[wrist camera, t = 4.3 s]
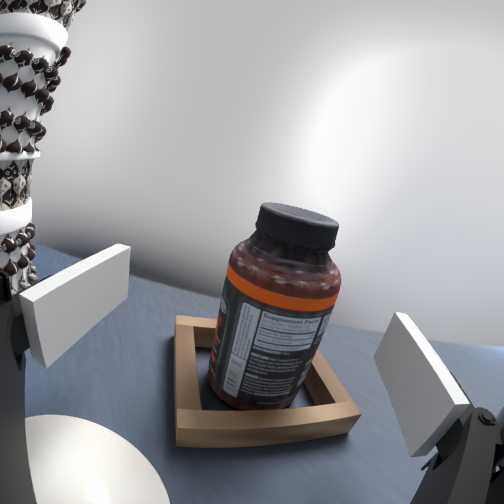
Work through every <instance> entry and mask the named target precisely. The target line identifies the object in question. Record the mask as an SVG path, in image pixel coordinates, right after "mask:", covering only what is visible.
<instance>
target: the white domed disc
mask: <svg viewBox="0 0 504 504" xmlns="http://www.w3.org/2000/svg"><path fill="white" fill-rule="evenodd" d="M25 429H26V442H27V451H28V459H29V466H30V472H31V478H32V483H33V488H34V493H35V497H36V502H37V504H170V502H169V498H168V495H167V492H166V489H165V487H164V485H163V483H162V481H161V478H160V477H159V475H158V474H157V472H156V470H155V469H154V467H153V466H152V465H151V464H150V462H149V461H148V460H147V459H146V458H145V457H144V456H143V455H142V454H141V452H140V451H139V450H137V449H136V448H135V447H134V446H133V445H132V444H130V443H129V442H128V441H126V440H125V439H124V438H122V437H121V436H119V435H118V434H116V433H114V432H112V431H111V430H109V429H107V428H105V427H103V426H100V425H98V424H95V423H93V422H90V421H87V420H83V419H80V418H76V417H71V416H63V415H39V416H33V417H28V418H25Z"/></svg>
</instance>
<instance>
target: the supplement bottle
mask: <svg viewBox="0 0 504 504" xmlns="http://www.w3.org/2000/svg"><path fill="white" fill-rule="evenodd" d="M255 225H256V229H257V230H256V231H255V232H254V233H253V234H252V235H251V236H250V238H249V239H247V240H244V241H242V242H240V243H239V244H238V245H237V246H236V247H235V248H234V250H233V251H232V253H231V255H230V259H229V263H228V269H227V275H226V278H225V282H224V287H223V293H222V298H221V303H220V309H219V314H218V320H217V325H216V330H215V334H214V341H213V346H212V351H211V356H210V361H209V372H208V377H209V382H210V385H211V387H212V389H213V392H214V393H215V394H216V395H217V396H218V397H219V398H220V399H221V400H223V401H224V402H225V403H227V404H228V405H230V406H231V407H234V408H236V409H239V410H241V411H253V410H275V409H283V408H285V407H286V406H288V405H289V404H290V403H291V402H292V401H293V400H294V398H295V396H296V395H297V393H298V391H299V389H300V387H301V385H302V383H303V381H304V379H305V376H306V374H307V372H308V369H309V367H310V365H311V363H312V360H313V358H314V356H315V354H316V351H317V348H318V346H319V344H320V341H321V339H322V336H323V334H324V331H325V328H326V326H327V323H328V321H329V318H330V315H331V313H332V310H333V307H334V304H335V301H336V299H337V296H338V293H339V290H340V285H341V274H340V271H339V269H338V267H337V266H336V265H335V263H334V262H333V261H332V260H331V258H330V256H329V254H328V251H329V250H331V249H332V248H334V246H335V240H336V236H337V232H338V228H339V224H338V222H336V221H335V220H333V219H331V218H329V217H327V216H324V215H322V214H319V213H316V212H313V211H309V210H306V209H302V208H298V207H294V206H289V205H284V204H279V203H263V204H262V205H261V207H260V211H259V215H258V219H257V222H256V224H255Z"/></svg>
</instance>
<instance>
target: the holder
mask: <svg viewBox="0 0 504 504" xmlns="http://www.w3.org/2000/svg"><path fill="white" fill-rule="evenodd" d="M217 320H218V319H208V318H198V317H189V316H180V315H176V322H175V331H174V409H175V432H176V447H196V448H231V447H252V446H266V445H276V444H285V443H293V442H300V441H307V440H313V439H319V438H324V437H330V436H334V435H339V434H344V433H348V432H349V431H350V430H351V429H352V427H353V426H354V424H355V423H356V422H357V420H358V419H359V417H360V416H361V412H360V411H359V409H358V408H357V406H356V405H355V403H354V402H353V400H352V399H351V397H350V396H349V394H348V393H347V391H346V390H345V388H344V387H343V386H342V384H341V383H340V381H339V380H338V378H337V377H336V375H335V374H334V372H333V371H332V369H331V368H330V366H329V365H328V363H327V362H326V360H325V359H324V357H323V356H322V354H321V353H320V351H319V350H318V348H317V351H316V354H315V356H314V358H313V360H312V363H311V365H310V367H309V369H308V372H307V374H306V376H305V379H304V381H303V382H304V384H305V386H306V388H307V390H308V391H309V393H310V395H311V397H312V399H313V401H314V403H315V404H316V406H311V407H301V408H290V409H275V410H253V411H211V410H201V402H200V393H199V384H198V375H197V365H196V355H195V347H207V348H212V346H213V341H214V334H215V330H216V325H217Z"/></svg>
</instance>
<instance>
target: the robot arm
mask: <svg viewBox="0 0 504 504" xmlns="http://www.w3.org/2000/svg"><path fill="white" fill-rule="evenodd" d="M130 248H131V247H129V246H125V245H122V244H116V245H114V246H111V247H109V248H107V249H105V250H103V251H101V252H99V253H97V254H95V255H93V256H90V257H88V258H86V259H84V260H82V261H80V262H78V263H76V264H74V265H72V266H70V267H68V268H66V269H65V270H63V271H61V272H59V273H57V274H54V275H50V276H47V277H45V278H43V279H42V280H40V281H38V282H36V283H34V285H30V286H29V287H27V288H25V289H23V290H21V291H19V292H18V293H16V294H14V295H12V293H11V286H10V278H9V274H8V273H7V272H5V271H1V270H0V504H37V502H36V497H35V493H34V488H33V483H32V478H31V472H30V466H29V459H28V451H27V442H26V429H25V404H24V391H25V365H26V357H25V353H24V351H26V350H27V349H28V348H29V347H30V350H31V354H32V358H33V360H34V361H36V362H37V363H39V364H40V365H42V366H43V367H45V368H46V369H47V368H48V367H49V366H50V365H51V364H52V363H53V362H55V361H56V360H57V359H58V358H59V357H60V356H61V355H62V354H63V353H64V352H65V351H67V350H68V349H69V348H70V347H71V346H72V345H73V344H74V343H75V342H77V341H78V340H79V339H80V338H81V337H82V336H83V335H84V334H86V333H87V332H88V331H89V330H90V329H91V328H92V327H93V326H95V325H96V324H97V323H98V322H99V321H100V320H101V319H103V318H104V317H105V316H106V315H107V314H108V313H110V312H111V311H112V310H113V309H114V308H115V307H117V306H118V305H119V304H120V303H121V302H123V301H124V300H125V299H126V298H127V297H128V278H129V262H130ZM373 358H374V360H375V362H376V365H377V367H378V370H379V372H380V375H381V377H382V380H383V382H384V385H385V387H386V390H387V392H388V395H389V397H390V400H391V403H392V405H393V408H394V411H395V413H396V416H397V419H398V422H399V424H400V427H401V430H402V433H403V436H404V439H405V442H406V445H407V448H408V451H409V454H410V457H416V456H425V455H427V454H428V453H429V452H430V451H431V450H432V448H433V447H434V446H435V445H436V447H437V449H438V452H437V453H436V454H435V455H434V456H433V457H432V458H431V459H430V460H429V461H428V462H427V463H426V464H425V465H424V466H423V467H422V468H421V470H424V469H425V468H426V467H428V466H429V467H428V469H427V471H426V473H425V476H424V478H423V480H422V482H421V484H420V486H419V488H418V490H417V492H416V494H415V496H414V498H413V499H412V501H411V503H410V504H504V407H503V409H502V410H501V411H500V413H499V414H498V416H497V418H495V417H494V415H493V414H492V413H491V412H490V411H488V410H487V409H484V408H480V407H477V408H474V406H473V404H472V403H471V401H470V400H469V398H468V396H467V395H466V393H465V392H464V390H463V389H461V388H462V387H461V386H460V384H459V383H457V380H456V378H455V377H454V375H453V374H452V373H451V372H450V371H449V370H448V369H447V368H446V366H445V365H444V364H443V362H442V361H441V359H440V358H439V356H438V355H437V354H436V352H435V351H434V349H433V348H432V347H431V345H430V344H429V343H428V341H427V340H426V338H425V337H424V336H423V334H422V333H421V332H420V330H419V329H418V328H417V327H416V325H415V324H414V323H413V321H412V320H411V319H410V317H409V316H408V315H407V314H403V313H398V312H394V315H393V317H392V319H391V322H390V324H389V326H388V328H387V330H386V333H385V335H384V337H383V339H382V341H381V343H380V345H379V347H378V349H377V351H376V353H375V355H374V357H373ZM499 464H501V467H502V468H501V469H500V470H499V471H497V472H496V467H497V466H498V465H499Z"/></svg>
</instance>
